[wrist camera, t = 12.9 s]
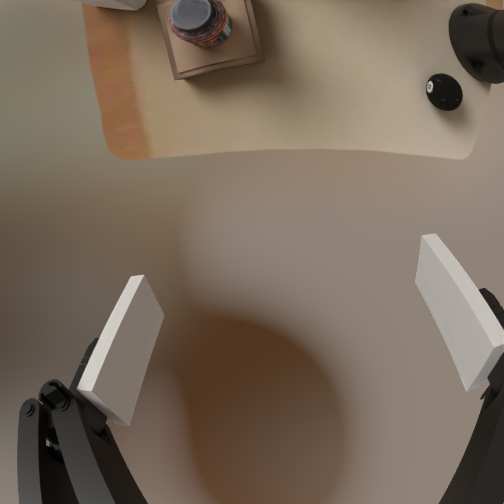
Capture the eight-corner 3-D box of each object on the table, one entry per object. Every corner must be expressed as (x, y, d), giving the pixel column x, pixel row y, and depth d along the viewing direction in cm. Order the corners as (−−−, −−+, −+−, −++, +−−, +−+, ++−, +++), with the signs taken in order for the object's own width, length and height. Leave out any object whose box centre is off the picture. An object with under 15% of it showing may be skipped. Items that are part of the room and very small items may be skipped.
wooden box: (247, -9, 30) (245, -19, 25) (264, 61, 36) (264, 59, 32) (167, 11, 31) (156, 4, 27) (183, 79, 38) (173, 80, 34)
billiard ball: (446, 111, 37) (466, 118, 32) (417, 102, 37) (436, 107, 32) (451, 79, 34) (471, 82, 29) (422, 68, 34) (441, 69, 29)
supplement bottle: (188, 51, 31) (160, 44, 22) (185, 12, 28) (157, -8, 19) (234, 46, 31) (223, 34, 21) (231, 6, 28) (219, -19, 18)
